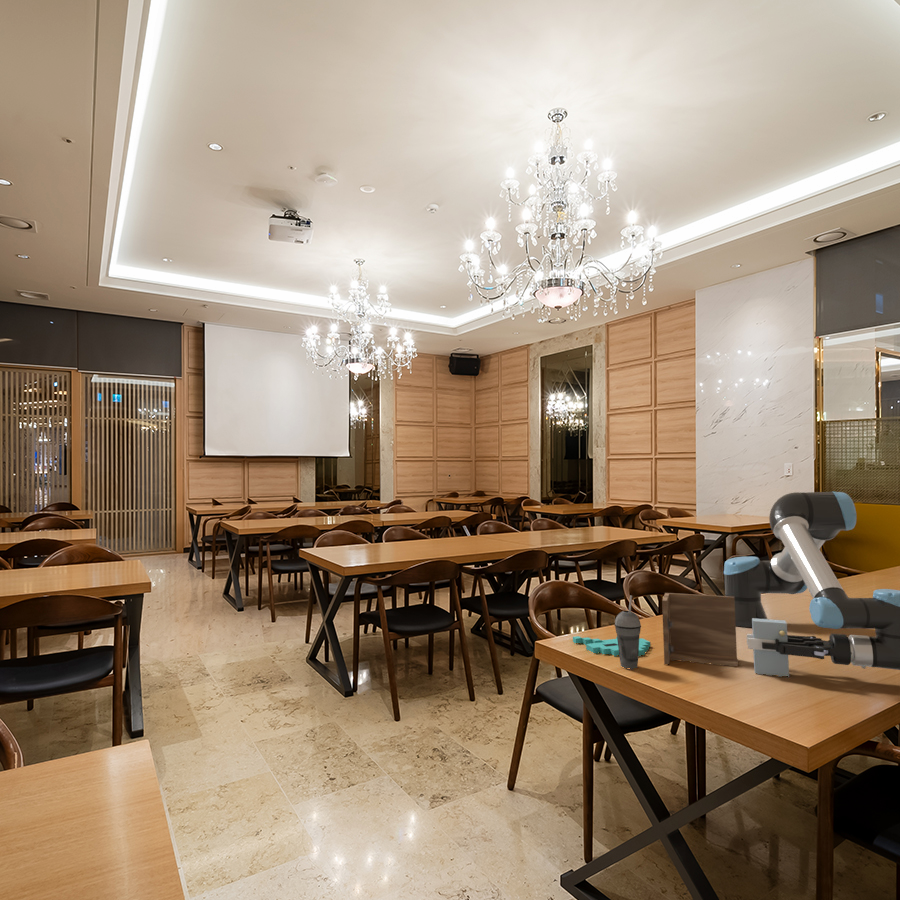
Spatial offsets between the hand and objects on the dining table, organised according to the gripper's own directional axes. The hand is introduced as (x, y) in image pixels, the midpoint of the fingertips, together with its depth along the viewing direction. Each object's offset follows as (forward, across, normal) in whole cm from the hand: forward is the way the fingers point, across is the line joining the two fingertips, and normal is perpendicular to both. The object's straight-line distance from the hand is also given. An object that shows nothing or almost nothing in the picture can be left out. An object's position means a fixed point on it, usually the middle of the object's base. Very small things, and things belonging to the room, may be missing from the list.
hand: (747, 641), depth 160 cm
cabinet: (+13, +4, -8) cm, 16 cm away
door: (-5, 0, -8) cm, 10 cm away
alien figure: (+37, +10, -9) cm, 39 cm away
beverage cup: (+31, -8, -8) cm, 33 cm away
